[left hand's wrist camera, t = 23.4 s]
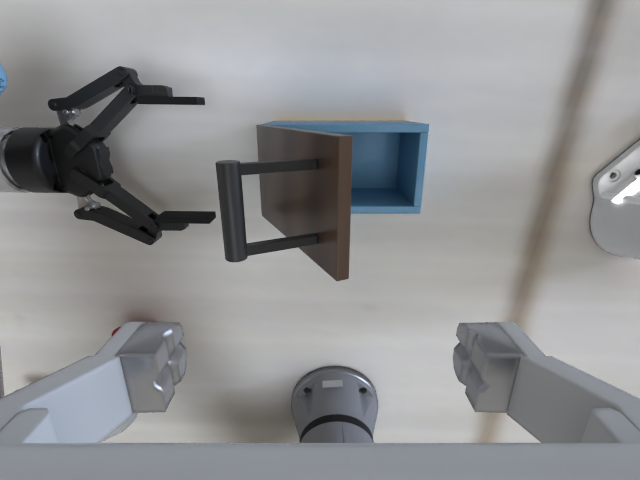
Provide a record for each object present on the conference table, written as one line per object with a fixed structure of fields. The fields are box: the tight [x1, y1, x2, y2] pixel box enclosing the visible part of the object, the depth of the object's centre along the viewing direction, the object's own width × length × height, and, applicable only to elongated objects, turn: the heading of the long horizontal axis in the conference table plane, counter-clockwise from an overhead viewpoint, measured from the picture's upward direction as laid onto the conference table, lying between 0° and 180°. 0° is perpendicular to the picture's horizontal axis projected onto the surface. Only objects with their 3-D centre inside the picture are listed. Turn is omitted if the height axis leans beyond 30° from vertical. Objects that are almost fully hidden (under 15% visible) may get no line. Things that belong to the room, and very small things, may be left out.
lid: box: [216, 125, 353, 281], centre depth 30 cm, size 18×10×8 cm
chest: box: [262, 121, 429, 213], centre depth 44 cm, size 18×10×11 cm, turn 90°
